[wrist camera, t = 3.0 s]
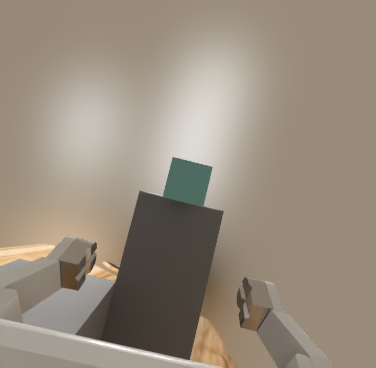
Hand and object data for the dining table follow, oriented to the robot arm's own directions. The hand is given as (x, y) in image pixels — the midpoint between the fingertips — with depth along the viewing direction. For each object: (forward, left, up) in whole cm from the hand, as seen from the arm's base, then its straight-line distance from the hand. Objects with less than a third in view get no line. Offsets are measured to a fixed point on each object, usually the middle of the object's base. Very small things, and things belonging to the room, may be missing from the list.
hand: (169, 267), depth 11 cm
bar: (-17, +12, +4) cm, 21 cm away
